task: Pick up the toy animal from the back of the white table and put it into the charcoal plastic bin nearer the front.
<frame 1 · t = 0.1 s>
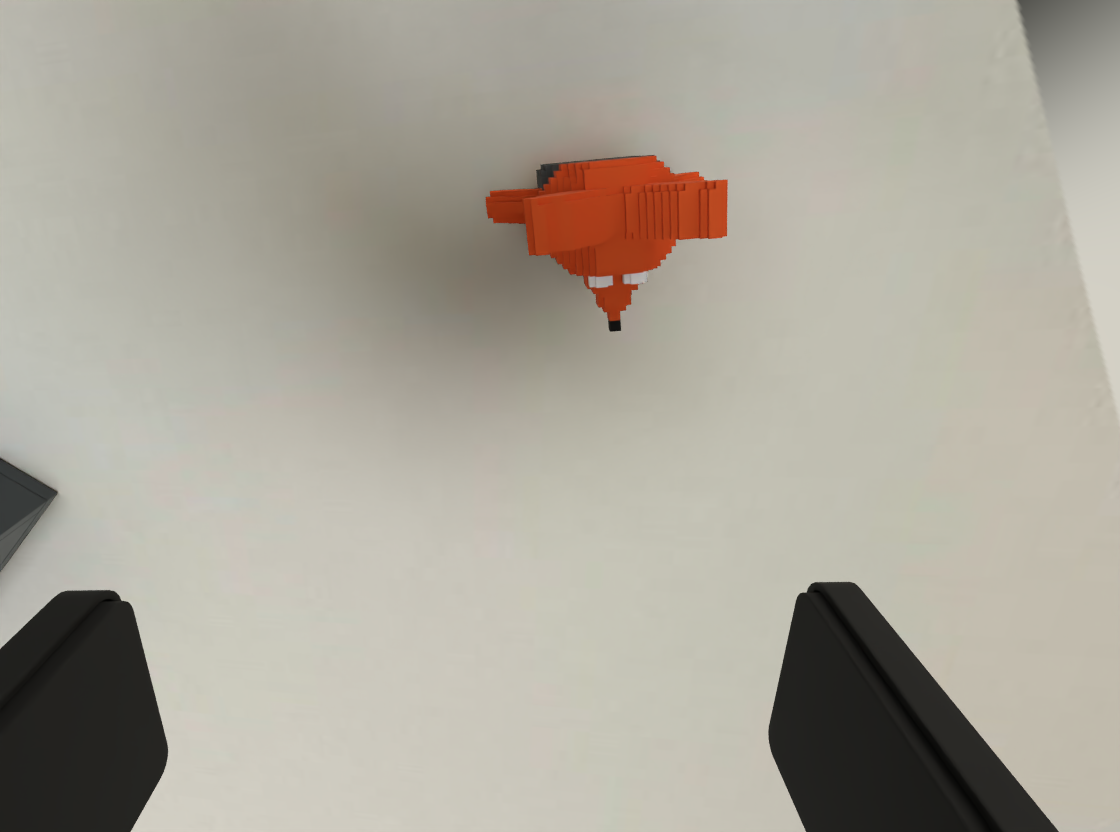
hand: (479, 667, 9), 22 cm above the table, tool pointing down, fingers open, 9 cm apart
toy animal: (583, 225, 29), on the table
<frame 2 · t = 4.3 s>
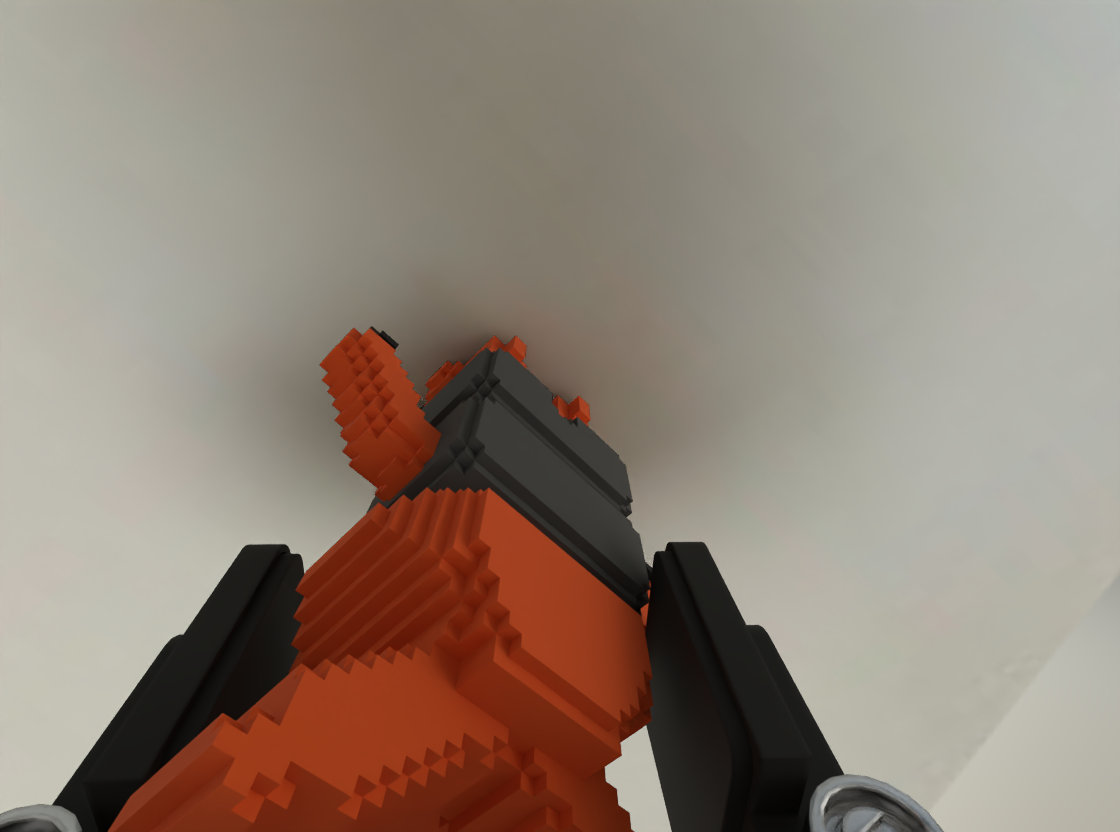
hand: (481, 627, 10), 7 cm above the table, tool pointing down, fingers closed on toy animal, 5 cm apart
toy animal: (488, 428, 17), on the table, touching gripper
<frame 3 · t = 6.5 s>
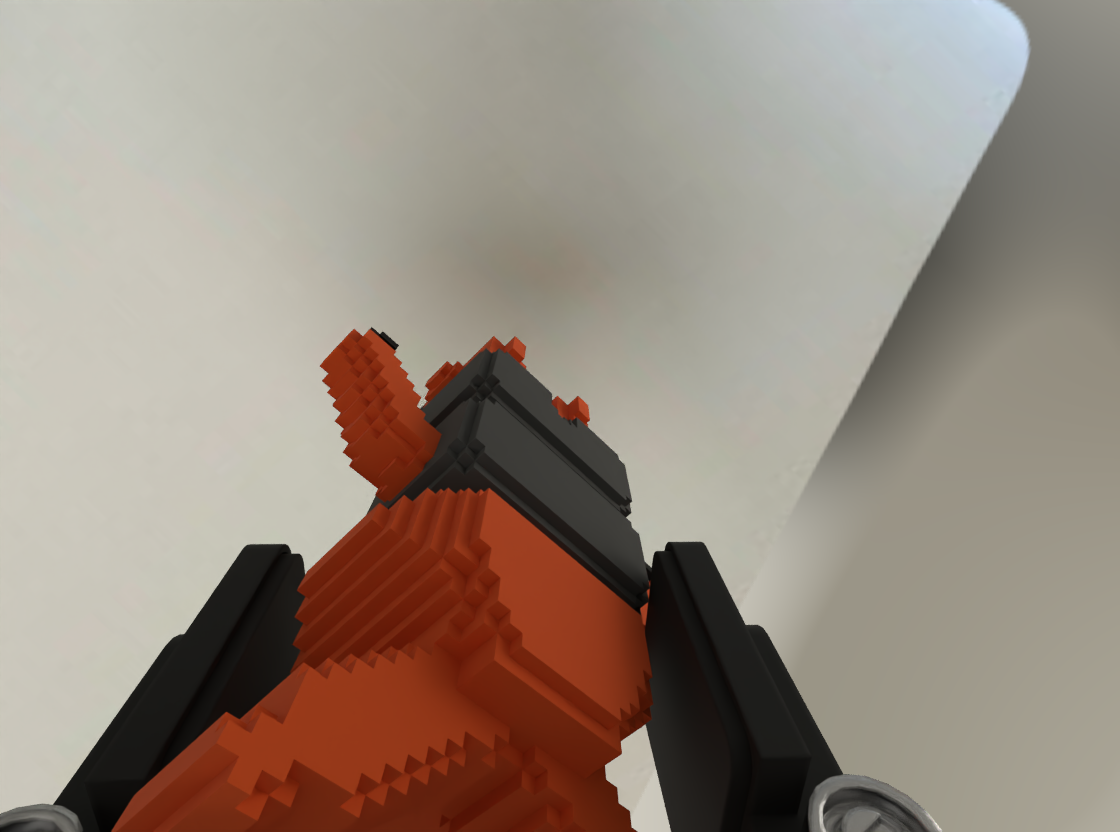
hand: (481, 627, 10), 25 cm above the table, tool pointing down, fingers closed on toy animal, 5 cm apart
toy animal: (487, 429, 17), point 17 cm above the table, touching gripper
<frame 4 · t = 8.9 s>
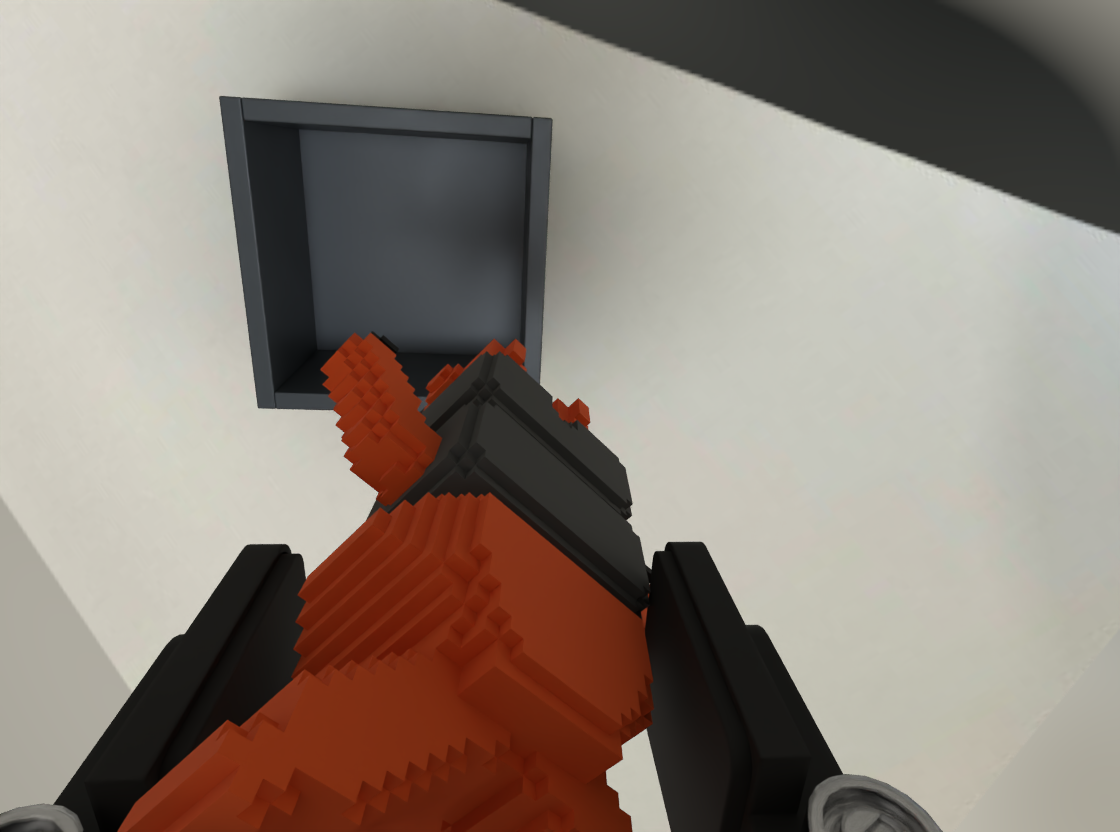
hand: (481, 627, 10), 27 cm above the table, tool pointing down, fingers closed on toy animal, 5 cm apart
bin: (419, 249, 34), on the table
toy animal: (488, 431, 17), point 20 cm above the table, touching gripper
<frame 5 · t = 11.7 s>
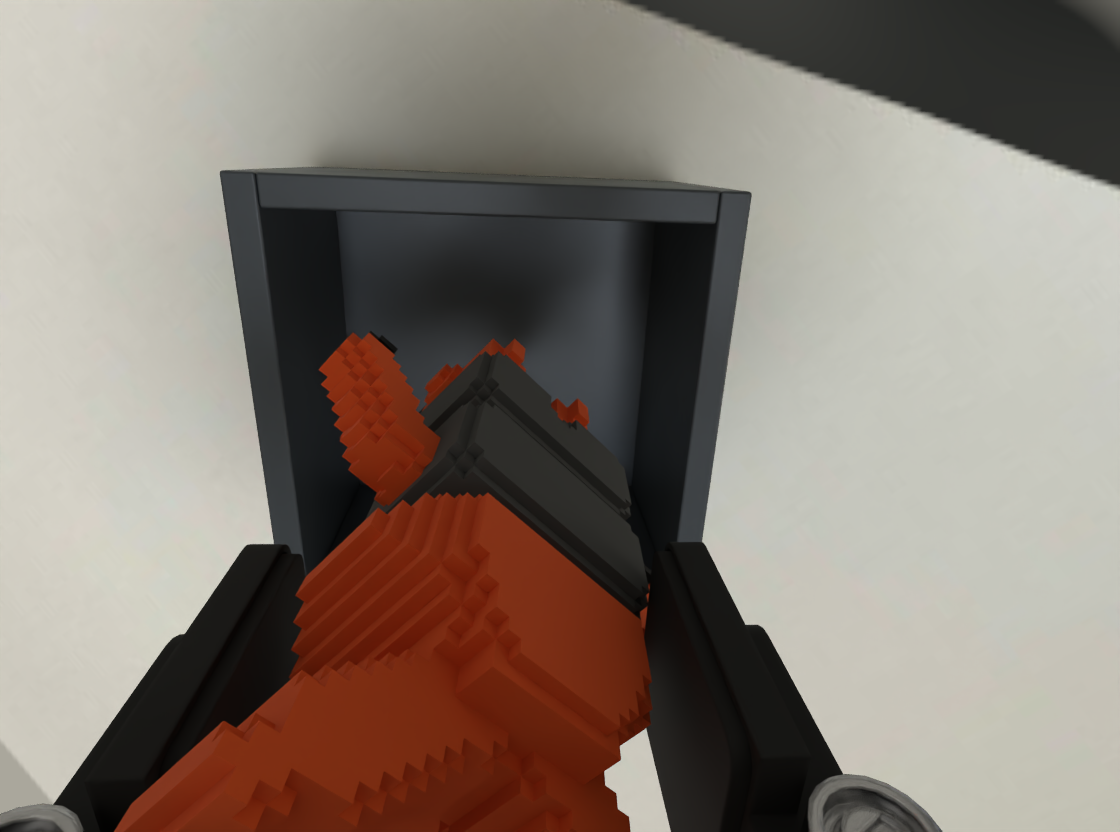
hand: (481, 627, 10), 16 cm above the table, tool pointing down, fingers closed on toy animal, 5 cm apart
bin: (498, 348, 25), on the table
toy animal: (487, 431, 17), point 9 cm above the table, touching gripper
when the fingers open (8 cm above the table, at t = 14.0 s): toy animal stays where it is, resting on bin.
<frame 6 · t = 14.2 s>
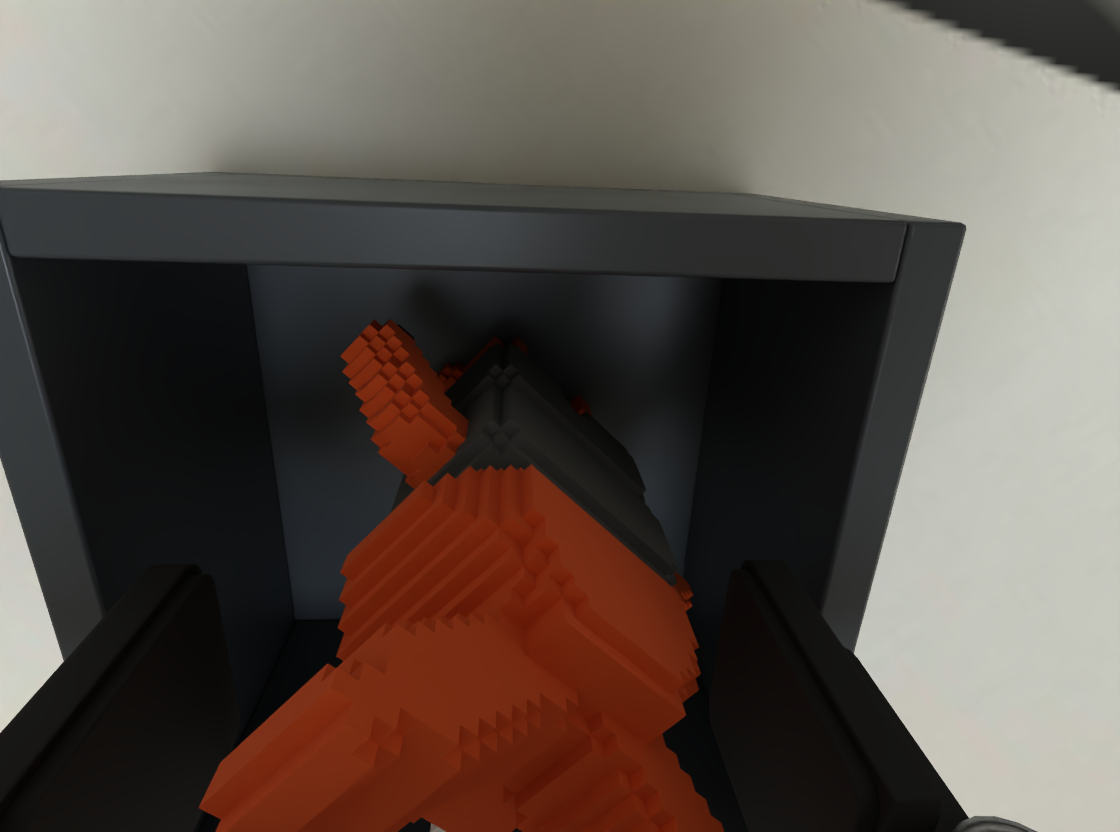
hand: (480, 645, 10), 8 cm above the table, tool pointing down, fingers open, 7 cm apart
bin: (492, 431, 17), on the table
toy animal: (488, 430, 17), point 1 cm above the table, touching bin
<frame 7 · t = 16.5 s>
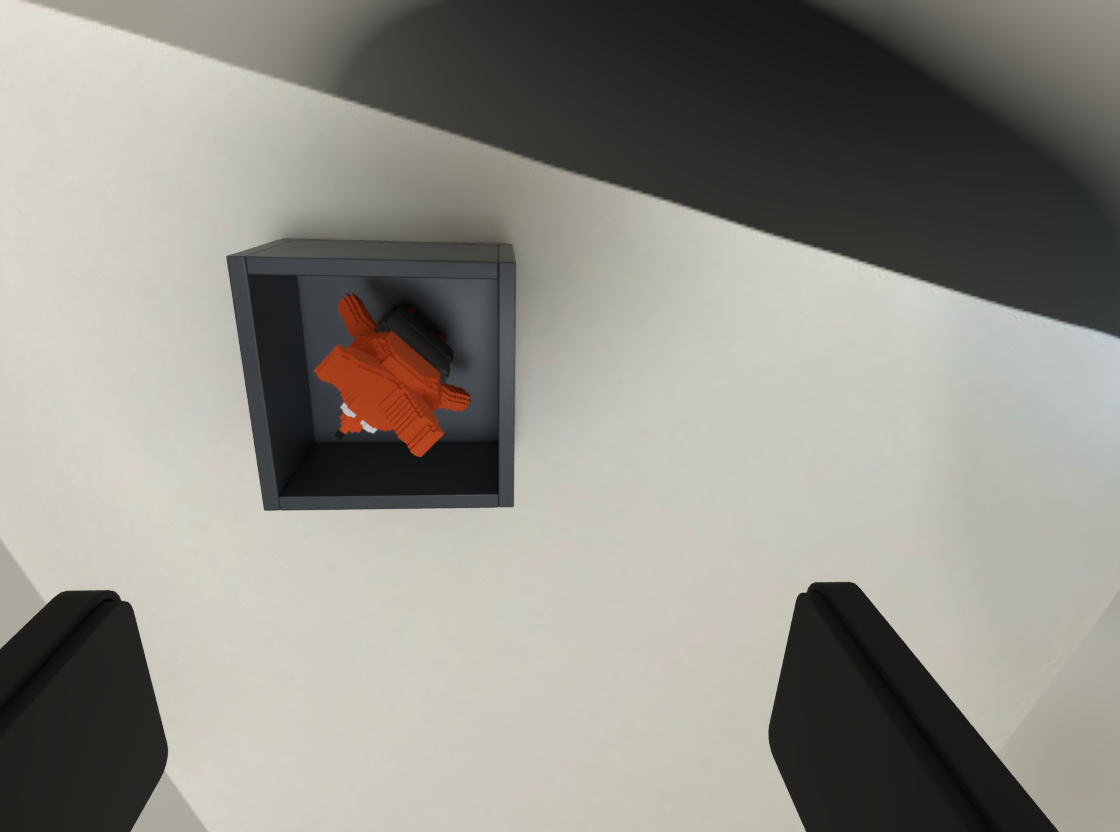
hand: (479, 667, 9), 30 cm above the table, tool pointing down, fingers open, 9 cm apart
bin: (405, 350, 38), on the table
toy animal: (402, 348, 37), point 1 cm above the table, touching bin
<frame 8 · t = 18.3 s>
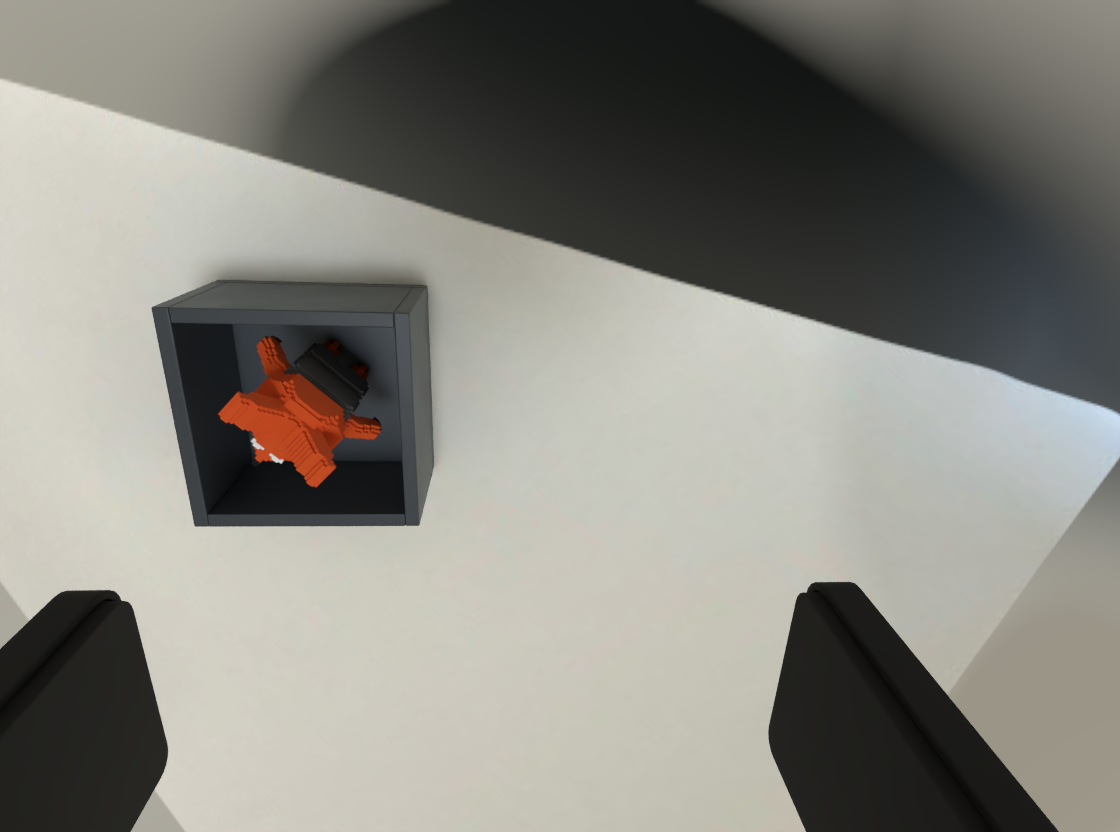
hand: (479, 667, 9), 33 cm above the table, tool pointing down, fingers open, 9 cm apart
bin: (333, 379, 42), on the table
toy animal: (328, 378, 41), point 1 cm above the table, touching bin
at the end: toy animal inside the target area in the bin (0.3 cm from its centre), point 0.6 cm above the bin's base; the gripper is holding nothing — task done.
